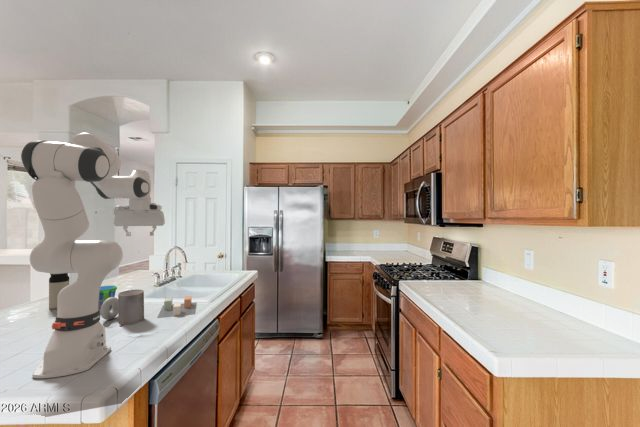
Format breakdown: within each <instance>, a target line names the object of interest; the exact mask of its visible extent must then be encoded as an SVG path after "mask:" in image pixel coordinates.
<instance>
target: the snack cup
mask: <svg viewBox="0 0 640 427" xmlns="http://www.w3.org/2000/svg"><path fill="white" fill-rule="evenodd" d="M117 289H118V286H117V285H101V287H100V291H99V305H98V309H99V310H100V309H101V306H102V304H103V302H104V301H105V300H106V299H108V298H110V297H115V298H116V291H117ZM110 308H112V305H111V306H110Z"/></svg>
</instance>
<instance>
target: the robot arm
mask: <svg viewBox="0 0 640 427" xmlns="http://www.w3.org/2000/svg"><path fill="white" fill-rule="evenodd" d="M20 158H21V159H20V160H21V163H22V164H23V167H24V169H25V170H26V172H27V174H28V176H30V178H31V179H33V180H35V181H34V182H33V183H32V186H31V195H32V198H33V204H34V208H35V210H36V213H37V216H38V219H39V220H40V223H41V227H42V228H43V229H42V230H43V232H44V238H43V240H42V241H41V242H40V243H38V244H37V245H35V247H33V248H32V250H31V252H30V254H29V264H30V265H31V267H32V269H34V271H36V272H38V273H46V274H50V273H53V274H58V273H68V274H72V273H73V274H77V278H76V281H73V282H71V283H69V285H67V286H66V287H64V288H63V289H62V290H61V291H60V292H59V294H58V296H57V309H56V311H57V313H56V314H57V315H56V316H55V320H54V322H53V323H52V324H51V329H52V330H54V331H53V332H52V333H51V336H50V338H49V341H48V343H47V345H46V347H45V350H44V352H43V357H42V359H41V360H40V361H39V364H38V365H37V367H36V368H35V370H34V372H33V373H32V378H33V379H51V378H58V377H65V376H70V375H74V374H79V373H82V372H85V371H88V370H90V368H92V367H93V366H94V365H95V364H97V363H98V362H99V361H100V360H101V359H102V358H104V357H105V356H106V355H107V354H108V353H109V352H111V350H112V347H111V346H110V345H107V341H106V338H107V337H106V336H107V335H106V328H105V327H106V326H104V325H103V324H101V322H100V320H101V313H100V309H98V305H99V291H100V287H101V286H102V283H103V282H104V280H105V278H107V276H109V275H108V274H110V273H111V272H112V271H114V270H115V269H116V268H117V267H119V265H120V264H121V262H122V261H123V257H124V252H123V249H122V247H121V245H120V244H119V243H118V242H115V241H110V240H104V239H81V240H80V239H79V238H80V237H82V236H83V235H84V234H86V232H87V231H88V229H89V226H90V222H89V219H88V216H87V212H86V210H85V207H84V204H83V200H82V198H81V196H80V194H79V191H78V190H77V188H76V182H77V181H79V182H87V183H90V184H91V185H92V186H93V187H94V188H95V190H96V192H97V194H98V195H99V196H100V197H101V198H103V199H105V200H108V199H109V200H111V199H128V205H117V206H116V207H114V208H113V215H114V217H113V218H114V219H113V225H114V226H116V227H123V228H122V229H123V231H124V232H125V235H126V236H125V237H131V235H132V232H131V231H129V230H128V228H129V227H151V228H152V230H151V231H149V236H151V237H153V236H154V235H155V233H154V232H155V231H156V229H157V226H158V227H161V226H163V227H164V226H165V224H166V220H165V219H166V218H165V214H164V212H163V211H162V205H160V204H157V203H155V202H154V203H153V202H152V198H151V193H152V192H151V191H152V182H151V176H150V174H149V172H147V171H145V170H141V169H133V170H130V174H129V175H116V174H117V173H118V172H119V170H120V169H121V165H122V161H121V158H120V156H119V154H118V153H117V152H116V150H114V149H113V148H112V147H111V146H110V145H109V144H108V143H107V142H105V140H103V139H101V138H100V137H98V136H96V135H95V134H92V133H89V132H81V133H78V134H75V135H74V136H72V137H71V139H70V140H69V142H61V141H48V140H33V141H29V142H27V143H26V144H25V145H24V147H23V149H22V151H21V154H20Z"/></svg>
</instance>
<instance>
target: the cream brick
mask: <svg viewBox="0 0 640 427" xmlns="http://www.w3.org/2000/svg"><path fill="white" fill-rule="evenodd" d="M181 304H182V302H176V303H175V302H174V306H173V317H176V316H175V315H180V314H181Z"/></svg>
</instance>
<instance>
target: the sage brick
mask: <svg viewBox="0 0 640 427" xmlns="http://www.w3.org/2000/svg"><path fill="white" fill-rule="evenodd" d="M163 303H164V304H163V305H164V310H166V309H171V308H172V304H173V297H167V298H165V300H164V301H163Z"/></svg>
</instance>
